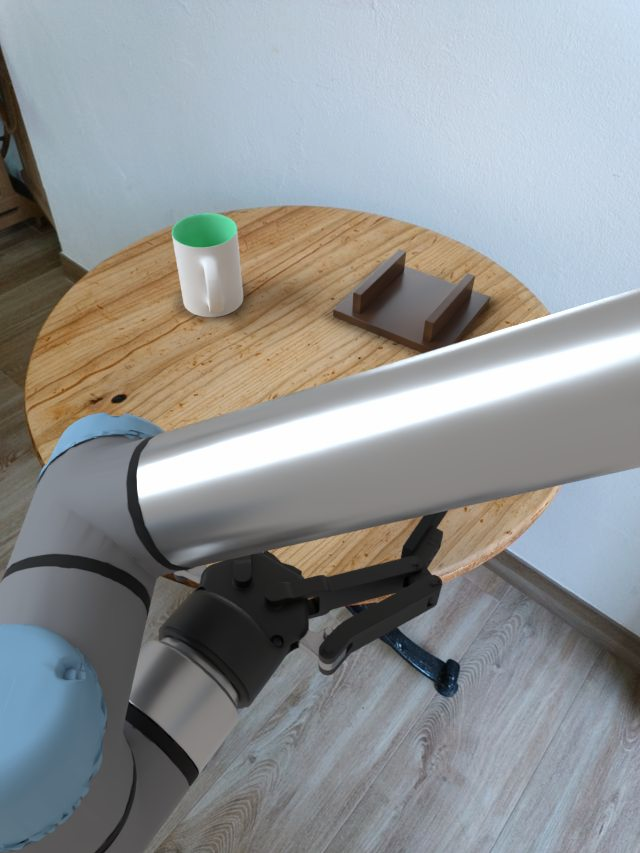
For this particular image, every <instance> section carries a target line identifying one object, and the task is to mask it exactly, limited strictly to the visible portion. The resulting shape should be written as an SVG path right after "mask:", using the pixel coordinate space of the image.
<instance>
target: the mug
mask: <svg viewBox="0 0 640 853" xmlns="http://www.w3.org/2000/svg"><path fill="white" fill-rule="evenodd" d="M238 234H239V233H238V226H237V223H236V222H235V221H234V220H233V219H232V218H231V217H229V216H226V215H223V214H220V213H214V212H212V213H211V212H203V213H196V214H191V215H188V216H185V217H183V218H181V219H180V220H178V221H177V222H176V223H175V224H173V226H172V229H171V238H172V244H173V249H174V255H175V261H176V267H177V273H178V279H179V285H180V291H181V296H182V297H181V298H182V302H183V303H182V304H183V306H184V307H185V309H186V310H187V311H188V312H189V313H191V314H192V315H196V316H198V317H203V318H217V317H218V318H219V317H223V316H227V315H229V314H231V313H234V312H235V311H236V310H237V309H239V308H240V307H241V305H242V304H243V301H244V290H243V279H242V269H241V258H240V257H241V256H240V247H239V246H240V245H239V235H238Z"/></svg>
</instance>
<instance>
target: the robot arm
mask: <svg viewBox="0 0 640 853" xmlns="http://www.w3.org/2000/svg"><path fill="white" fill-rule="evenodd" d="M638 468H640V287H637V288H633V289H630V290H628V291H624V292H621V293H618V294H613V295H610V296H608V297H604V298H600V299H598V300H594V301H591V302H587V303H584V304H581V305H577V306H574V307H570V308H568V309H565V310H561V311H558V312H555V313H552V314H548V315H545V316H541V317H539V318H535V319H532V320H529V321H525V322H522V323H519V324H516V325H512V326H509V327H505V328H502V329H498V330H496V331H493V332H488V333H486V334H483V335H479V336H475V337H473V338H470V339H466V340H463V341H458V343H456V344H453V345H449V346H446V347H443V348H439V349H436V350H433V351H430V352H426V353H420V354H416V355H414V356H410V357H407V358H404V359H400V360H396V361H393V362H390V363H387V364H384V365H381V366H377V367H374V368H371V369H368V370H364V371H361V372H358V373H354V374H351V375H348V376H344V377H341V378H338V379H335V380H331V381H328V382H325V383H321V384H318V385H315V386H311V387H308V388H304V389H301V390H298V391H295V392H291V393H288V394H284V395H281V396H278V397H275V398H271V399H268V400H266V401H262V402H259V403H255V404H252V405H249V406H245V407H242V408H239V409H236V410H233V411H230V412H226V413H223V414H219V415H216V416H213V417H209V418H207V419H202V420H200V421H196V422H193V423H190V424H187V425H184V426H180V427H176V428H174V429H170V430H166V431H165V430H164V429H162V428H161V427H160V426H159V425H157V424H156V423H154V422H152V421H150V420H148V419H146V418H144V417H141V416H138V415H135V414H131V413H123V414H122V415H110V414H108V413H107V412H106V411H105V412H103V411H102V412H97V413H93V414H89V415H86V416H84V417H81V418H79V419H77V420H76V421H74V422H73V423H72V424H70V425H69V426H68V427H67V428H66V429H65V430H64V431H63V433H62V434H61V436H60V437H59V439H58V441H57V443H56V445H55V447H54V449H53V451H52V453H51V455H50V457H49V459H48V461H47V463H46V464H44V465H43V467H42V468H41V471H40V473H39V476H38V478H37V479H38V480H37V481H36V486H35V490H34V494H33V496H32V499H31V502H30V503H29V504H30V505H29V508H28V510H27V512H26V515H25V518H24V520H23V523H22V526H21V529H20V530H19V531H20V532H19V534H18V536H17V539H16V542H15V544H14V546H13V550H12V552H11V555H10V557H9V560H8V563H7V566H6V567H5V568H6V569H5V571H4V574H3V576H2V578H1V581H0V853H145V852H146V850H147V849H148V847H149V846H150V845H151V843H152V842H153V840H154V839H155V837H156V836H157V834H158V833H159V832H160V830H161V829H162V827H164V825H165V823H166V822H167V821H168V819H169V818H170V816H171V815H172V813H173V812H174V811H175V809H176V808H177V807H178V806H179V804H180V802H181V801H182V800H183V798H184V797H185V796H186V794H187V792H188V791H189V790H190V787H191V786H193V784H194V783H195V782H196V780H197V779H198V777H199V775H200V774H201V773H202V772H203V770H204V769H205V767H206V766H207V765H208V763H209V762H210V761H211V759H212V758H213V757H214V755H215V754H216V753H217V751H218V750H219V748H220V747H221V746H222V744H223V743H224V742H225V740H226V739H227V738H228V736H229V735H230V734H231V732H232V731H233V730H234V728H235V727H236V726H237V724H238V723H239V722H240V714H239V710H242V709H245V708H249V707H251V705H252V704H253V702H255V700H256V698H257V697H258V696H259V694H260V693H261V692H262V690H263V689H264V687H265V686H266V685H267V683H268V682H269V680H270V679H271V678H272V676H273V675H274V674H275V672H277V670H278V669H279V667H280V666H281V663H283V661H284V660H285V658H286V657H287V656H288V655H289V654H291V652H293V651H295V650H297V649H301V650H302V651H303V652H305V653H306V654H307V655H308V656H309V657H310V658H312V659H313V660H314V661H315V662H317V663H318V666H317V668H318V671H319V672H320V674H322V675H324V676H332V675H334V674H335V673H336V672H337V670H338V669H339V668H340V667H341V666H342V664H343V663H344V662H345V661H346V660H347V658H348V657H349V656H351V654H352V653H354V652H356V651H358V650H360V649H361V648H363V647H365V646H366V645H367V646H368V645H369V644H371V643H372V642H374V641H376V640H377V639H379V638H381V637H383V636H385V635H387V634H388V633H390V632H393V630H395V629H397V628H399V627H401V626H403V625H405V624H406V623H409V622H410V621H412V620H414V619H416V618H417V617H419V616H421V615H423V614H424V613H426V612H428V611H430V610H431V609H433V608H435V607H436V606H437V604H438V602H439V598H440V595H441V592H442V588H443V579H441V578H442V577H440V576H439V575H437V574H432V573H431V572H430V571H429V569H428V568H429V567H430V565H431V563H432V562H433V560H434V559H435V557H436V556H437V554H438V553H439V551H440V550H441V547H442V543H443V538H444V531H443V530H441V529H440V528H438V527H439V526H440V524H441V523H442V521H443V519H444V518H445V516H446V515H447V513H448V511H452V510H456V509H461V508H464V507H470V506H475V505H479V504H482V503H487V502H492V501H497V500H501V499H505V498H509V497H515V496H519V495H524V494H527V493H532V492H537V491H541V490H545V489H549V488H554V487H560V486H562V485H568V484H572V483H576V482H580V481H586V480H590V479H594V478H600V477H603V476H604V477H605V476H609V475H613V474H617V473H621V472H626V471H629V470H630V471H631V470H635V469H638ZM420 517H421V519H420V520H419V521H418V523H417V525H416V526H415V527H414V528H413V530H412V532H411V533H410V535H409V536H408V538H407V539H406V540H405V542H404V544H403V545H402V548H401V554H400V558H397V559H392V560H388V561H385V562H384V561H383V562H381V563H376V564H373V565H369V566H365V567H362V568H361V567H360V568H357V569H352V570H349V571H345V572H341V573H337V574H333V575H329V576H326V575H325V574H318V575H313V576H310V577H304V576H303V571H302V570H301V569H299V568H298V567H295V566H294V565H292V564H289V563H285V562H282V561H281V560H280V559H279V558H278V557H277V556H276V554H274V553H272V552H270V551H273V550H278V549H282V548H287V547H291V546H296V545H301V544H304V543H305V544H306V543H309V542H314V541H319V540H322V539H327V538H332V537H336V536H340V535H344V534H348V533H353V532H359V531H362V530H363V531H364V530H368V529H372V528H376V527H381V526H384V525H390V524H393V523H397V522H403V521H407V520H411V519H416V518H420ZM207 565H208V566H207ZM170 574H173V577H174V579H175V580H176V581H177V582H186V581H188V580H190V581H192V582H194V583H196V584H198V585H197V587H196V589H195V590H194V591H192V592H191V593H189V594H188V595H187V596H186V598H184V600H183V601H182V602H181V603H180V604H179V605H178V606H177V607H176V609H175V610H174V611H173V612H172V613H171V615H169V617H168V618H167V619H166V620H165V621H164V623H163V624H161V626H160V627H159V628H158V635H157V636H158V637H157V638H158V639H153V640H152V639H151V640H147V642H146V643H145V644H144V645H143V646H142V642H143V638H144V635H145V634H144V633H145V629H146V625H147V621H148V618H149V612H150V607H151V604H152V599H153V596H154V591H155V587H156V583H157V580H158V579H159V577H162V576H165V575H170ZM386 596H387V597H386ZM383 597H385V598H384V599H381V600H380V601H378V602H377V603H374V604H372V605H371V606H369V607H367V608H365V609H363V610H362V611H359V612H358V613H356V614H354V615H352V616H350V617H348V618H347V619H345V620H343V621H342V622H341V623H339V624H338V625H336V627H335V628H332V627H331V626H327V627H325V628H323V629H321V630H320V631H316V632H315V631H311V630H310V620H311V619H315V618H319V617H321V616H326V615H328V614H329V613H330V612H331V611H332V610H336V609H340V608H344V607H347V606H352V605H355V604H359V603H363V602H368V601H370V600H374V599H378V598H383Z"/></svg>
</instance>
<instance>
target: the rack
mask: <svg viewBox="0 0 640 853" xmlns="http://www.w3.org/2000/svg"><path fill="white" fill-rule="evenodd" d="M406 258H407V251H405V250H402V249H397V250H396V251H395V252H394V253H393V254H392V255H391V256H390V257H389V258H388V259H384V260H383V262H382V263H380V264H379V266H377V267H376V268H375V269H374V270H373V271H372V272H370V274H369V275H368V276H366V278H364V279H363V280H362V281H361V282H360V283H359V284H358V285H357V286H356V287H355V288H354V289H353V290H352V291H350V293H349V294H348V295H347V296H345V297H344V298H343V299H342V300H341V301H340V302H339V303H338V304H337V305H336V306H335V307H333V309H332V317H333V318H335V319H338V320H340V321H343V322H345V323H348V324H351V325H352V326H355V327H359V328H360V329H363V330H366V331H368V332H369V333H372V334H375V335H378V336H380V337H383V338H385V339H387V340H389V341H392V342H395V343H397V344H400V345H402V346H405V347H407V348H409V349H412V350H414V351H416V352H419V353H421V354H423V353H426V352H430V351H433V350H436V349H439V348H443V347H446V346H449V345H453V344H456V343H459V342H460V341H461V339H462V338H463V337H464V335H465V334H466V333H467V332H468V330H469V329H471V327H472V325H473V324H474V323H475V322H476V321H477V319H478V318H479V317H480V316H481V314H482V313H484V311H485V309H486V308H487V307H488V306H489V305H490V301H491V296H490V295H487V294H484V293H481V292H478V291H476V290H474V284H475V280H476V275H474V274H471V273H469V272H467V273H466V274H465V275H464V276H463V277H462V278H461V279H460V280H459V282H458V283H457V284H456V283H453V282H451V281H448V280H445V279H443V278H440V277H438V276H434V275H431V274H428V273H425V272H423V271H420V270H417V269H414V268H411V267H409V266H406V260H407V259H406Z"/></svg>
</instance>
